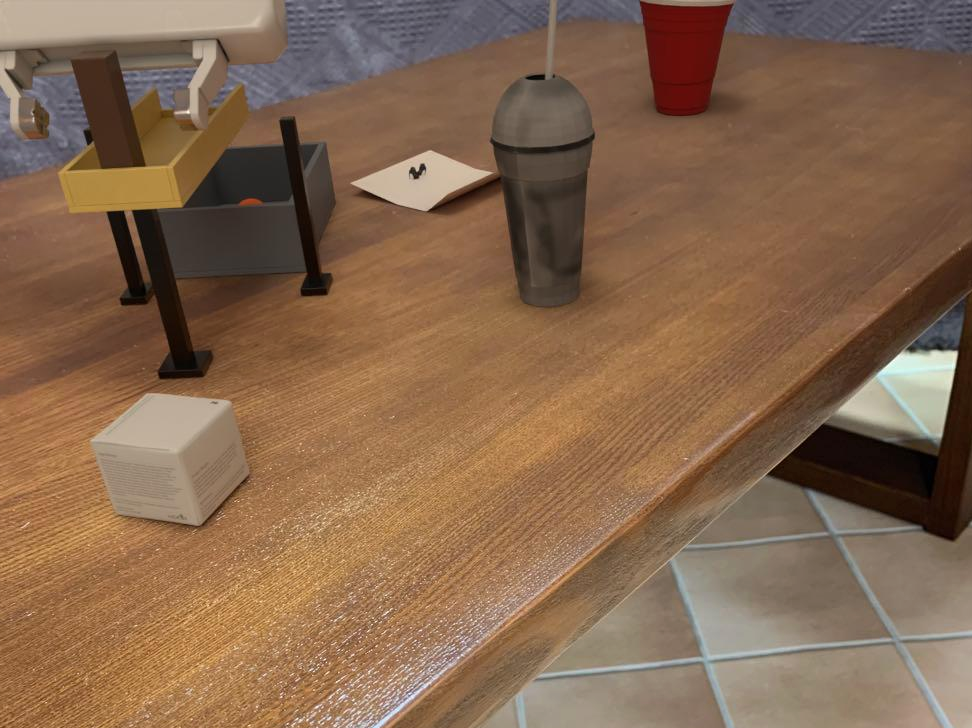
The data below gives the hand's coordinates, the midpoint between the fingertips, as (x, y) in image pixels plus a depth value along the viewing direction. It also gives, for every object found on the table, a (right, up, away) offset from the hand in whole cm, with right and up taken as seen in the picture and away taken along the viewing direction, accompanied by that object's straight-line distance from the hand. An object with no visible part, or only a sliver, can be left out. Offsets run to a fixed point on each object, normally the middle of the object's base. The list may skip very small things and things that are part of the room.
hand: (110, 130), depth 62 cm
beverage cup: (+26, -5, +19) cm, 32 cm away
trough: (0, +2, +10) cm, 10 cm away
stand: (+1, -8, +17) cm, 19 cm away
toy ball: (0, +4, +30) cm, 30 cm away
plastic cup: (+41, +25, +59) cm, 76 cm away
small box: (+5, -21, -2) cm, 22 cm away
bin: (0, +3, +32) cm, 32 cm away
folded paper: (+15, +10, +41) cm, 44 cm away
